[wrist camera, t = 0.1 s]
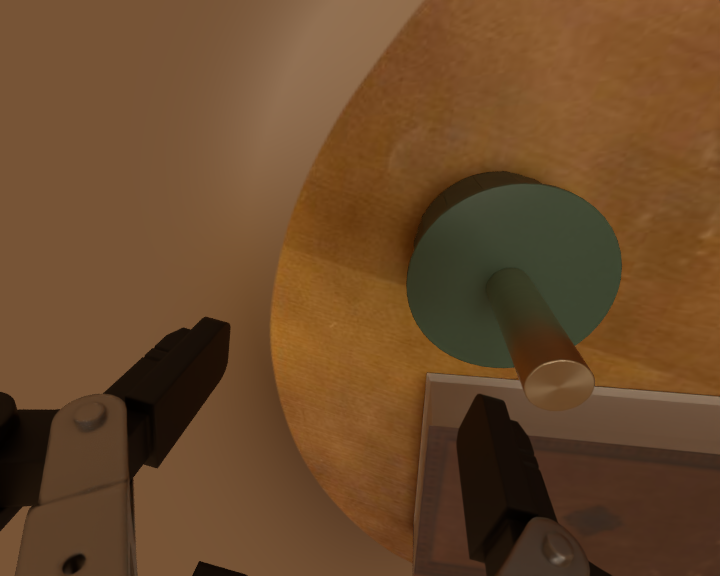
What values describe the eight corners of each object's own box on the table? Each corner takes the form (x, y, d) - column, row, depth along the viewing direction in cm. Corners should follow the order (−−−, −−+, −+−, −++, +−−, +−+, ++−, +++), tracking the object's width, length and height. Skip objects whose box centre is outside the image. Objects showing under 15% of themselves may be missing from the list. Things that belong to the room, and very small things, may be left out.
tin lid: (443, 154, 21) (463, 191, 12) (658, 212, 20) (846, 296, 11) (385, 331, 26) (369, 446, 17) (552, 378, 26) (624, 519, 17)
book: (656, 559, 42) (694, 631, 37) (413, 526, 46) (412, 587, 40) (755, 399, 32) (831, 465, 26) (426, 372, 35) (428, 425, 29)
